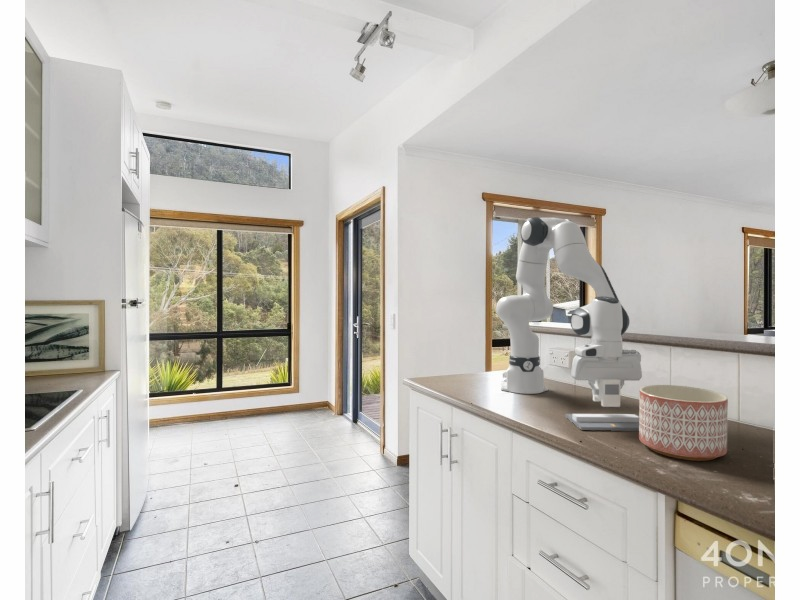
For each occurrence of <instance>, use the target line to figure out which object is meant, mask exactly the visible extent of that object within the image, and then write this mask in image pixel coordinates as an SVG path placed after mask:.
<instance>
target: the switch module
mask: <svg viewBox="0 0 800 600" xmlns="http://www.w3.org/2000/svg"><path fill="white" fill-rule="evenodd" d="M620 381H621V380H619V379H600V380H595V384H594V386H595V388H597V389H599V395H593V394H592V401H593V402H600V406H601V407H603V408H605V407H606V408H610V407H611V408H612V407H613V408H620V407H621V389H620Z"/></svg>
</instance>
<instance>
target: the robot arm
mask: <svg viewBox="0 0 800 600" xmlns="http://www.w3.org/2000/svg"><path fill="white" fill-rule="evenodd" d="M520 236H521V237H520V238H521V240H522V244H521V247H520V250H519V255H518V260H517V265H516V267H517V268H516V273H515V274H516V275H515V280H516V282H517V283H518V284H520V286H521V287H522V294H517V295H516V294H514V295H513V294H511V295H507V296H503V297H500V298H499V300H498V301H497V303H496V307H495V312H496V315H497V317H498V318H499V319H500V320H501V321H502V322H503V324H505V326H506V328H507V330H508V334H509V340H510V355H509V359H508V363H509V365H508V367H507V369H506V371H503V372H502V378H503V379H504V380H501V384H500V390H501V391H504V392H505V391H506V392H510V393H515V394H526V395H530V394H531V395H533V394H540V393H543V392H547V391H549V388H548V387H547V386H545V375H544V370H543V369H542V368H541V367H540V365H541V359H540V358H541V357H540V355H539V354H540V353H539V351H540V350H539V349H540V347H539V345H540V340H539V335H537V334H536V333H535V332H533V331H532V330H531V329H532V328H531V327H530V323H532V322H542V321H544V320H547V319H549V318H551V316H552V314H553V311H554V304H553V302H552V300H551V298H549V296H548V295H547V292H546V288H545V287H546V286H545V279H546V271H547V264H548V259H549V258H548V257H549V252H550V251H551V250H553V255H554V259H555V263H556V266H557V268H558V269H559V270H560V272H561V273H562V274H565V275H566V276H567V277H570V278H574V279H578V280H580V281H581V282H584V283H586V284H588V285H589V286H590V287H591V288H592V289H593V291H594V293H595V295H596V297H593V298H592V301H591V302H590V303H588V304H585V305H583V306H580V307H577V308H575V310H574V311H573V312H571V315H570V321H569V322H570V328H571V329H572V331H573V332H574V334H576V335H577V336H582V337H590V342H589V343H586V344H584V345H579V346H576V347H575V348H574V353H575V354H576V355H575V356H574V357H572V364H571V370H570V371H571V373H570V374H571V377H572V378H573V379H574V380H576V381H587V382H588V385H589V386H590V388H591V394H592V396H593V395H599V389H597V388H595V386H594V384H595V380H600V379H619V380H621V381H620V390H622V389H623V387H624V385H625V381H627V382H628V381H631V382H632V381H637V382H638V381H640V380H641V378H642V377H643V374H642V364H641V362H642V355H641V353H640V351H638V350H636V349H623V337H622V336H623V335H624V334H625V333H626V332H627V331H628V329H629V326H630V317H629V315H628V314H629V313H628V312H627V311H626V310H625V308H624V306H623V305H622V303H621V301H620V300H619V297H618V296H617V293H616V291H615V289H614V287H613V285H612V282H611V280H610V278H609V277H608V274H607V272H606V270H605V268H604V267H603V266H602V265H601V264H599V263H598V262H597V261H596V260H595V258H594V257H593V255H592V254H591V252H590V249H589V248H588V244H587V241H586V237H585V236H584V233H583V232H582V229H581V227H580V226H579V224H578V223H576V222H575V221H573V220H571V219H563V218H561V217H560V218H559V217H553V216H552V217H539V216H533V217H528V218H526V219H525V220H524V221H523V223H522V225H521V228H520Z"/></svg>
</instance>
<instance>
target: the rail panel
mask: <svg viewBox="0 0 800 600" xmlns="http://www.w3.org/2000/svg"><path fill="white" fill-rule="evenodd" d="M564 417H565V418H566V419H567V418H568V419H569V420H570V421H569V420H568V419H567V420H568V421H569V422H571V423H572V422H573V423H574V424H575V425H576V426H577V427H576V426H575V425H574V424H573V423H572V424H573V425H574V426H575V427H576V428H578V427H579V428H580V429H581V430H611V431H613V432H615V431H617V432H639V415H637V414H635V413H633V414H632V413H631V414H630V413H564ZM579 428H578V429H579ZM580 429H579V430H580ZM581 430H580V431H581ZM611 431H610V432H611Z"/></svg>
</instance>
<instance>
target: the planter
mask: <svg viewBox="0 0 800 600" xmlns="http://www.w3.org/2000/svg"><path fill="white" fill-rule="evenodd" d="M638 396H639V403H638V404H639V407H638V408H639V410H638V417H639V431H638V439H639V441H640V442H641V443H642V444H643V445H645V446H646V447H648V448H649V449H650V450H652V451H653V452H655V453H658V454H660V455H663V456H666V457H669V458H673V459H679V460H684V461H685V460H686V461H695V462H699V461H700V462H701V461H702V462H703V461H704V462H705V461H707V462H708V461H712V460H715V459H717V458H719V457H723V456H725V455H726V454H727V453H728V415H729V414H728V413H729V412H728V410H729V409H728V405H729V401H728V399H729V398H728V396H726V395H725V394H724V393H721V392H718V391H715V390H714V391H713V390H710V389H705V388H699V387H694V386H687V385H685V386H684V385H674V384H650V385H644V386H641V387H639V395H638Z"/></svg>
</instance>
